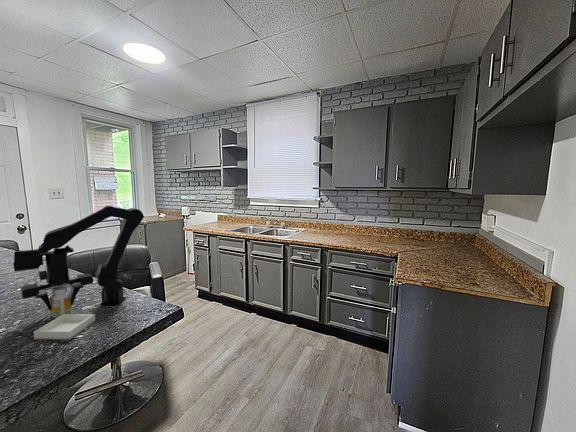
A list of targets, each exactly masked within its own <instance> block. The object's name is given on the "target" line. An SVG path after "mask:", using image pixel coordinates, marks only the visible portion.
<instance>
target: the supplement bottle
mask: <svg viewBox="0 0 576 432" xmlns="http://www.w3.org/2000/svg"><path fill="white" fill-rule="evenodd" d="M51 294H52V295H51V296H50V297H49V301H50V304H51V311H50V314H51V317H52V318H58V317H59V316H61V315H63V314H72V305H71V300H70V292H68V286H63V287H58V288H54V289H51Z"/></svg>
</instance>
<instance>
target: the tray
mask: <svg viewBox="0 0 576 432" xmlns="http://www.w3.org/2000/svg"><path fill="white" fill-rule="evenodd" d="M95 322H96V314H95V313H69V314H63V315H61V316H59V317H55V319H53V320H51V321H49V322H48V323H46V324H44V325H42V326H41V327H38V329H36V330H34V331H33V339H34V340H71V339H74V337H75V336H77V335H78V334H79V333H81V332H82V331H84V330H85V329H86V328H89V326H91V325H92V324H93V323H95Z"/></svg>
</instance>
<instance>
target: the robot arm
mask: <svg viewBox="0 0 576 432" xmlns="http://www.w3.org/2000/svg"><path fill="white" fill-rule="evenodd" d="M110 217H114V218H118V219H122V224H121V229H120V232H119V234H118V235H117V238H116V240H115V243H114V245H112V246H113V247H112V248H111V251H110V254H109V256H108V258H107V260H106V261H105V262H103V263H104V264H102V263H99V264H98V268H97V270H96V271H95V272H94V274H95V278H96V279H95V280H96V282H97V284H98V285H99V286H100V287H101V291H100V292H101V294H100V295H101V302H100V303H99V305H100V306H117V305H119V304H120V303H121V302H123V301H124V300H125V299H126V298H127V296H124V284H123V282H122V280H121V278H120V277H119V276H118V269H119V264H120V261H121V259H122V258H123V256H124V255H123V254H124V252H125V251H126V248H127V246H128V244H129V241H130V239H131V238H132V235H133V233H134V231H135V230H136V229H137V228H138V226H139V225H140V224H141V222H142V221H143V220H144V213H143V212H142V211H141V210H140V209H137V208H133V207H130V208H128V209H126V208H121V207H115V206H112V205H106V206H104V207H102V208H101V209H98V210H97V211H95V212H93V213H91V214H89V215H87V216H85V217H83V218H81V219H79V220H77V221H75V222H73V223H71V224H68V225H65V226H61V227H58V228H54V229H52V230H50V231H48V232H47V233H46V234H45V235H44V238H43V242H42V243H41V244H40V245H38V248H35V249H28V250H27V249H26V250H21V249H20V250H15V251H14V252H13V254H14V258H13V263H12V264H13V265H12V266H13V270H14V272H15V273H17V272H23V271H31V270H39V269H40V267H41V266H43V265H44V257H45V266H46V270H41V271H39V272H38V275H39V276H38V277H39V281H44V280H45V281H46V284H41V285H38V283H30V284H27V285H22V287H20V296H21V298H22V299H24V300H25V299H29V298H33V297H35V299H41V301H43V303H44V304H45V305H46V307H47V309H48V310H49V311H50V312H51V304H50V297H49V294H48V292H47V291H49V290H52V289H54V288H58V287H63V286H65V287H68V286H69V287H70V292H69V293H70V300H71V306H73V304H74V302H75V299H76V297H77V295H78V293H79V292H80V290H81V289H83V288H84V286H86V285H91V284H94V277H93V276H92V275H91V274H90V273H88V272H87V273H83V274H77V275H76V278H72V279H70V270H69V258H68V253H73V252H74V251H75V250H74V248H72V247H71V246H69V244H68V243H69V242H70V241H71V240H73V239H74V238H75V237H76V236H77V235H79V234H80V233H82V232H85V231H86V230H88V229H90V228H92V227H93V226H95V225H97V224H99V223H101V222H102V221H104V220H107V219H108V218H110ZM66 244H67V245H66ZM65 245H66V246H65ZM51 250H52V251H51Z"/></svg>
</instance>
